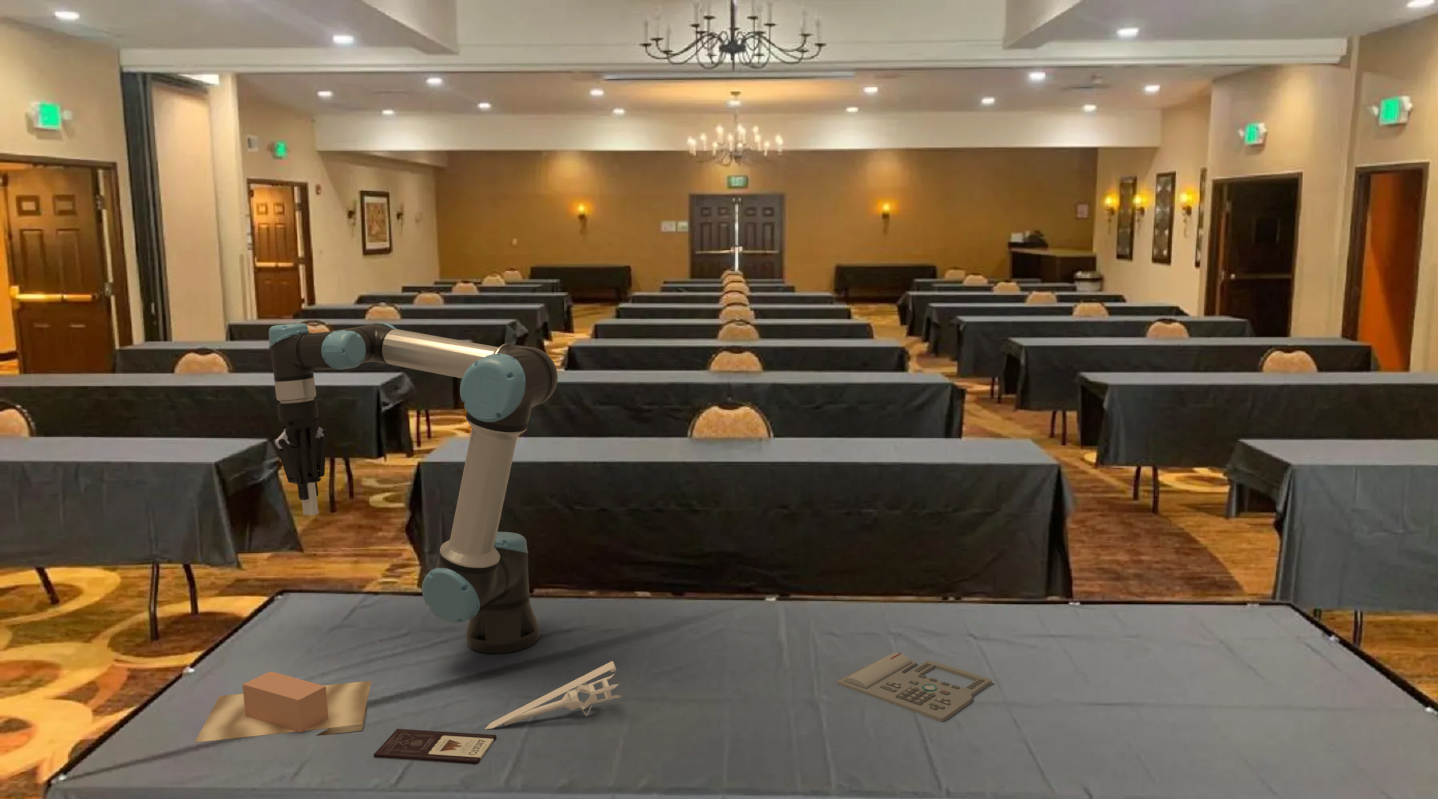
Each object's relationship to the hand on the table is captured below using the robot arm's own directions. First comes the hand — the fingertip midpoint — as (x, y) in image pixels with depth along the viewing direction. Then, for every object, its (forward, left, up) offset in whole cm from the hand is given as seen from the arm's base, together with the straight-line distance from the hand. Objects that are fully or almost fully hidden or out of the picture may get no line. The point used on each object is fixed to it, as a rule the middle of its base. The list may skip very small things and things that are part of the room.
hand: (311, 514), depth 218 cm
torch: (-46, +44, -29) cm, 70 cm away
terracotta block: (+6, +31, -24) cm, 40 cm away
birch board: (+1, +32, -29) cm, 43 cm away
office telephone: (-113, +47, -29) cm, 126 cm away
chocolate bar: (-25, +50, -29) cm, 63 cm away
